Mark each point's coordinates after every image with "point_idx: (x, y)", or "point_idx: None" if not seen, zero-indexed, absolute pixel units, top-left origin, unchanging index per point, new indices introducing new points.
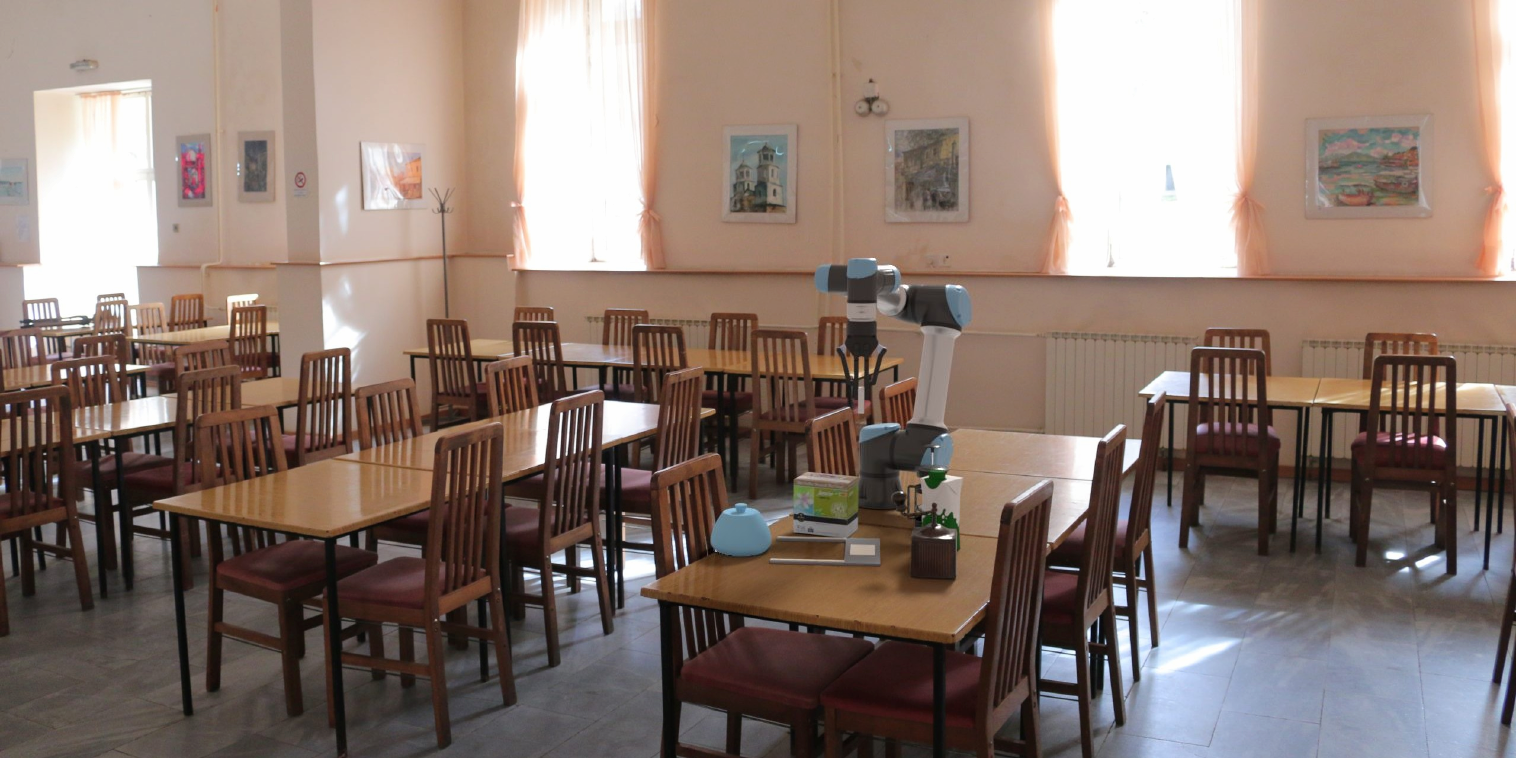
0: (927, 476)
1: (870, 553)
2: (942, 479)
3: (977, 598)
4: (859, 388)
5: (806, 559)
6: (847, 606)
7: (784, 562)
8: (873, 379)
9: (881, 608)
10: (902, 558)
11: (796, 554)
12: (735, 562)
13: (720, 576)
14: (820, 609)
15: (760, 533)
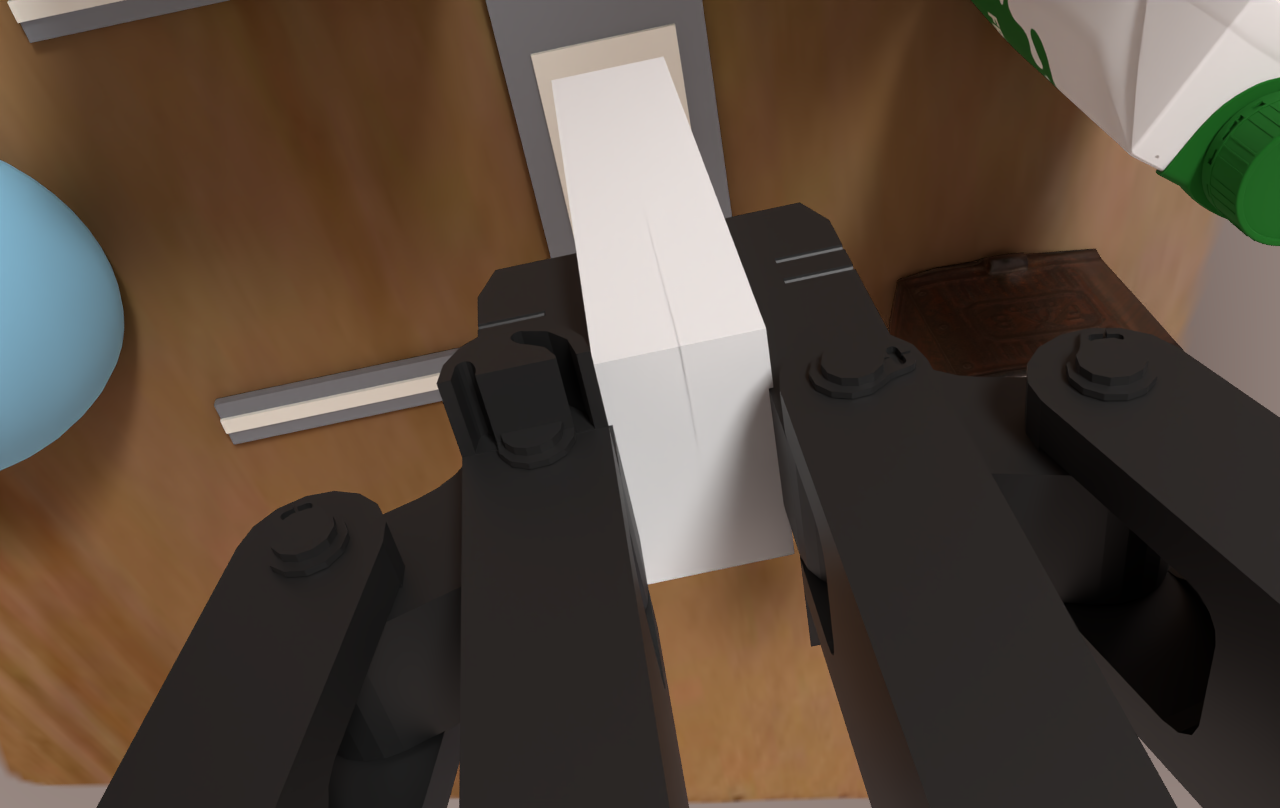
0: (1203, 79)
1: None
2: None
3: None
4: (675, 574)
5: (393, 385)
6: (694, 730)
7: (302, 427)
8: (1129, 667)
9: (801, 714)
10: (843, 181)
11: (289, 272)
12: (73, 469)
13: (134, 630)
14: None
15: (82, 400)
